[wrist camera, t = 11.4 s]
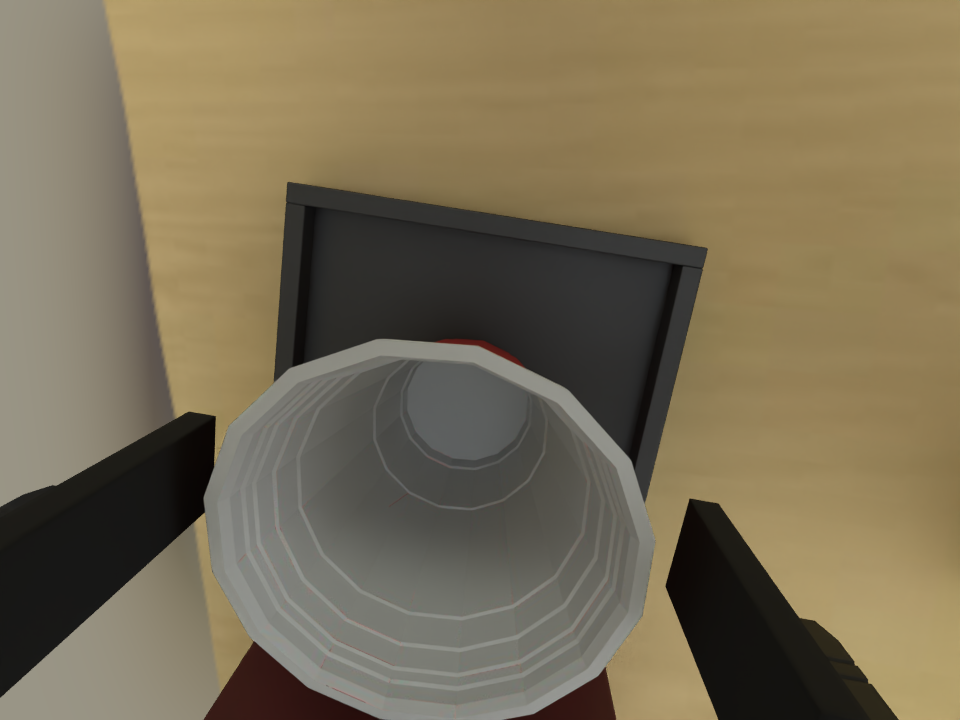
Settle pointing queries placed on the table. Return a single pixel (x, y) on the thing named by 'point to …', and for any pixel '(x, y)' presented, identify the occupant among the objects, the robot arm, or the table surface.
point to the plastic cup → (429, 531)
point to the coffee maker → (314, 716)
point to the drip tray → (494, 298)
